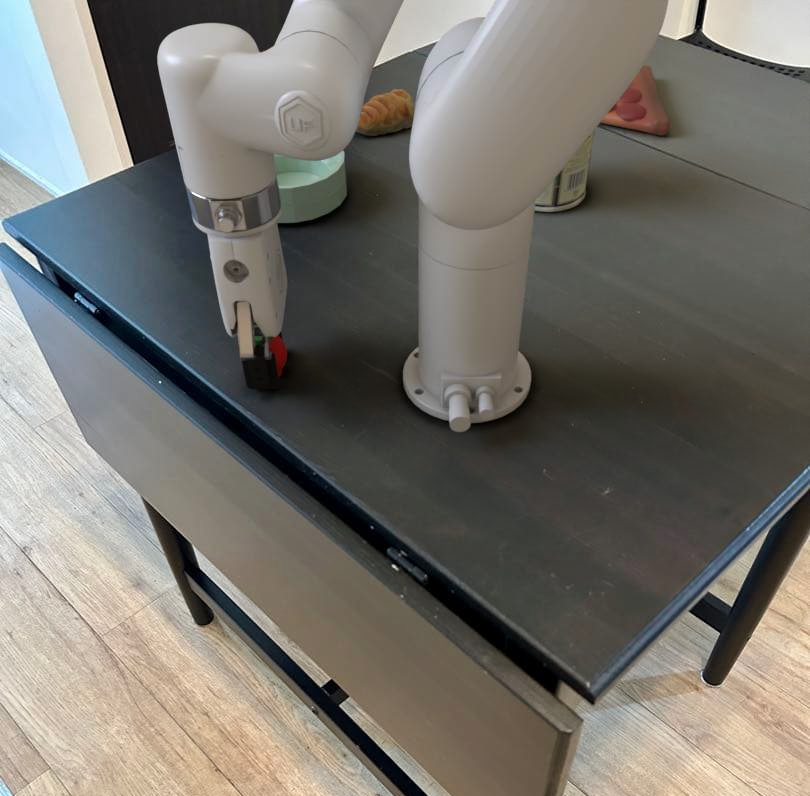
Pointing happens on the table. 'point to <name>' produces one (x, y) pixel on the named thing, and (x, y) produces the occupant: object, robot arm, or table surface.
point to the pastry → (386, 113)
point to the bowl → (310, 187)
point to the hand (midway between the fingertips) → (266, 368)
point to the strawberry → (275, 350)
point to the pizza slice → (640, 106)
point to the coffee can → (568, 182)
